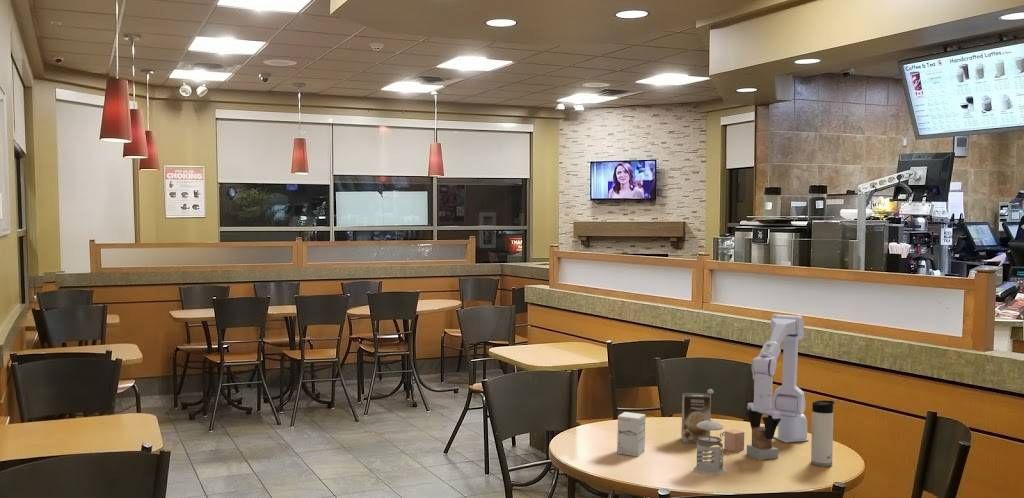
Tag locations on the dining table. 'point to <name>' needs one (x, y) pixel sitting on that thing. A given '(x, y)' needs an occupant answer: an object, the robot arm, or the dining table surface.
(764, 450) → the base block
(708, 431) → the coffee box
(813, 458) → the travel mug
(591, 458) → the dining table surface
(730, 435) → the terracotta block
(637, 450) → the supplement box
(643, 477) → the dining table surface
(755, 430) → the walnut block
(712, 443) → the french press
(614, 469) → the dining table surface
